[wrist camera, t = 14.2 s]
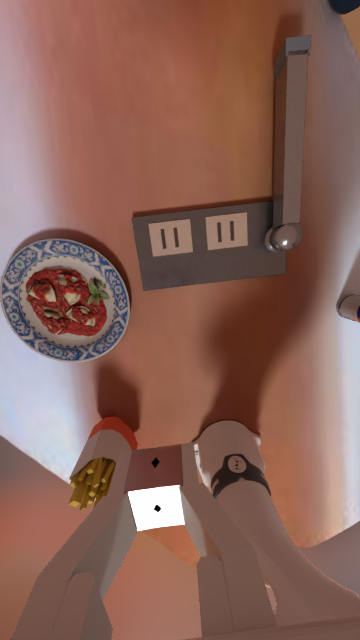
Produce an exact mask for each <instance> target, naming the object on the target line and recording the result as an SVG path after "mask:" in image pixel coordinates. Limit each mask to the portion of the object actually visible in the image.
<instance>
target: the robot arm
mask: <svg viewBox="0 0 360 640" xmlns="http://www.w3.org/2000/svg"><path fill="white" fill-rule="evenodd" d="M260 442H261V439H260V437H259V435H257V434H255V433H252V432H251V431H249V430H248V429H247V427H245V426H244V425H243V424H241V423H239V422H236V421H220V422H217V423H214V424H212V425H210V426H209V427H207V428H206V429H205V430H204V431H203V433H202V434H201V436H200V437H199V438H198V439H197V440H196V441H194V442H192V443H185V444H177V445H170V446H163V447H157V448H149V449H139V450H131V451H122V452H121V453H120V454H119V456H118V460H117V464H116V467H115V471H114V474H113V478H112V482H111V485H110V489H109V492H108V496H103V498H102V499H101V500H100V501H99V502H98V504H97V505H96V506H95V507H94V509H93V510H92V511H91V512H90V514H89V515H88V516H87V517H86V518H85V519H84V521H83V522H82V523H81V524H80V526H79V527H78V528H77V529H76V531H75V532H74V533H73V534H72V535H71V537H70V538H69V539H68V540H67V541H66V543H65V544H64V545H63V546H62V548H61V549H60V550H59V551H58V553H57V554H56V555H55V556H54V557H53V558H52V560H51V561H50V562H49V563H48V565H47V566H46V567H45V568H44V569H43V571H42V572H41V573H40V574H39V576H38V577H37V579H36V581H35V584H34V586H33V588H32V591H31V593H30V595H29V598H28V600H27V602H26V604H25V607H24V609H23V612H22V614H21V616H20V619H19V621H18V623H17V625H16V628H15V630H14V632H13V635H12V637H11V639H10V640H111V638H112V631H113V628H112V626H111V623H110V620H109V618H108V615H107V612H106V609H105V606H104V604H103V599H104V597H105V595H106V593H107V591H108V589H109V587H110V585H111V583H112V582H113V580H114V577H115V575H116V574H117V572H118V570H119V568H120V566H121V564H122V562H123V560H124V558H125V556H126V554H127V552H128V550H129V548H130V546H131V544H132V542H133V540H134V538H135V537H136V535H137V531H139V530H144V529H150V528H156V527H163V526H173V525H183V524H185V527H186V529H187V531H188V533H189V534H190V536H191V538H192V540H193V542H194V544H195V546H196V548H197V550H198V552H199V554H200V556H201V557H200V559H199V561H198V563H197V573H198V587H199V601H200V614H201V628H202V637H199V638H192V639H184V640H360V595H358V594H357V593H355V592H353V591H351V590H349V589H347V588H345V587H343V586H341V585H339V584H338V583H336V582H334V581H333V580H331V579H330V578H329V577H327V576H326V575H324V574H323V573H322V572H321V571H320V570H318V569H317V568H316V567H315V566H314V565H313V564H312V563H311V562H310V561H308V559H307V558H306V557H305V556H304V555H303V554H302V553H301V551H300V550H299V549H298V547H297V546H296V545H295V543H294V542H293V540H292V539H291V537H290V535H289V534H288V532H287V530H286V528H285V526H284V524H283V522H282V520H281V518H280V516H279V514H278V512H277V510H276V508H275V506H274V504H273V501H272V499H271V492H270V489H269V485H268V483H267V480H266V478H265V477H264V475H263V473H264V469H265V467H266V466H265V462H264V460H263V457H262V455H261V452H260V450H259V447H260ZM196 450H197V451H196ZM197 467H198V469H199V472H200V474H201V477H202V479H203V482H204V484H205V485H206V486H208V487H209V489H210V491H211V493H210V492H209V490H208V489H207V488H206V486H205V485H204V484H203V483H200V484H199V480H198V472H197ZM266 586H267V587H269V588H271V589H272V590H273V592H274V595H275V598H276V602H277V607H276V609H275V610H274V611H273V610H272V607H271V604H270V600H269V597H268V593H267V590H266Z"/></svg>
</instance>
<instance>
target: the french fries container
mask: <svg viewBox="0 0 360 640" xmlns="http://www.w3.org/2000/svg"><path fill="white" fill-rule="evenodd" d="M137 445H138V443H137V441H136V438H135V436H134V433H133V431H132V429H131V428H130V427H129V426H127V425H126V424H125V423H124V422H123V421H122V420H121V419H119V418H118V417H117V416H116V417H105V418H104V419H103V420H102V421H100V422H99V423H98V424H97V425H95V426H94V428H93V430H92V432H91V434H90V436H89V438H88V440H87V442H86V445H85V447H84V449H83V451H82V453H81V455H80V457H79V459H78V461H77V463H76V465H75V468H74V470H73V472H72V474H71V476H70V478H69V479H70V480H71V483H70V486H72V487H75V486H76V487H75V489H74V492H73V495H72V497H71V499H70V502H69V505H71V506H73V507H76V506H77V505H79V504H80V503H81V506H80V510H85V509H86V507H87V504H91V503H92V502H94V499H95V498H96V501H95V504H94V507H95V506H96V505H97V504H98V502H99V501H100V500H101V499H102V498H103V496H108V492H109V489H110V485H111V482H112V478H113V474H114V471H115V467H116V464H117V460H118V456H119V454H120V453H121V452H122V451H131V450H137ZM84 490H85V491H84ZM83 494H84V495H83ZM82 497H83V499H82ZM81 500H82V502H81ZM93 509H94V508H93Z"/></svg>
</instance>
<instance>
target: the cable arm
mask: <svg viewBox="0 0 360 640" xmlns="http://www.w3.org/2000/svg"><path fill="white" fill-rule="evenodd" d="M310 47H311V35H309V36H299V37H288V38H286V39H285V41H284V43H283V45H282V47H281V49H280V51H279V53H278V55H277V57H276V59H275V61H274V78H275V77H276V85H275V143H274V201H273V228H275V229H274V230H273V231H272V232H271V234H270V237H269V242H270V245H271V247H272V248H273V249H275V250H287V249H293V248H295V247H297V246H298V245H299V244H300V242H301V241H302V238H303V230H302V228H301V226H300V225H299V224H298V223H300V208H301V187H302V167H303V147H304V127H305V107H306V87H307V66H308V56H309V55H310Z"/></svg>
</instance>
